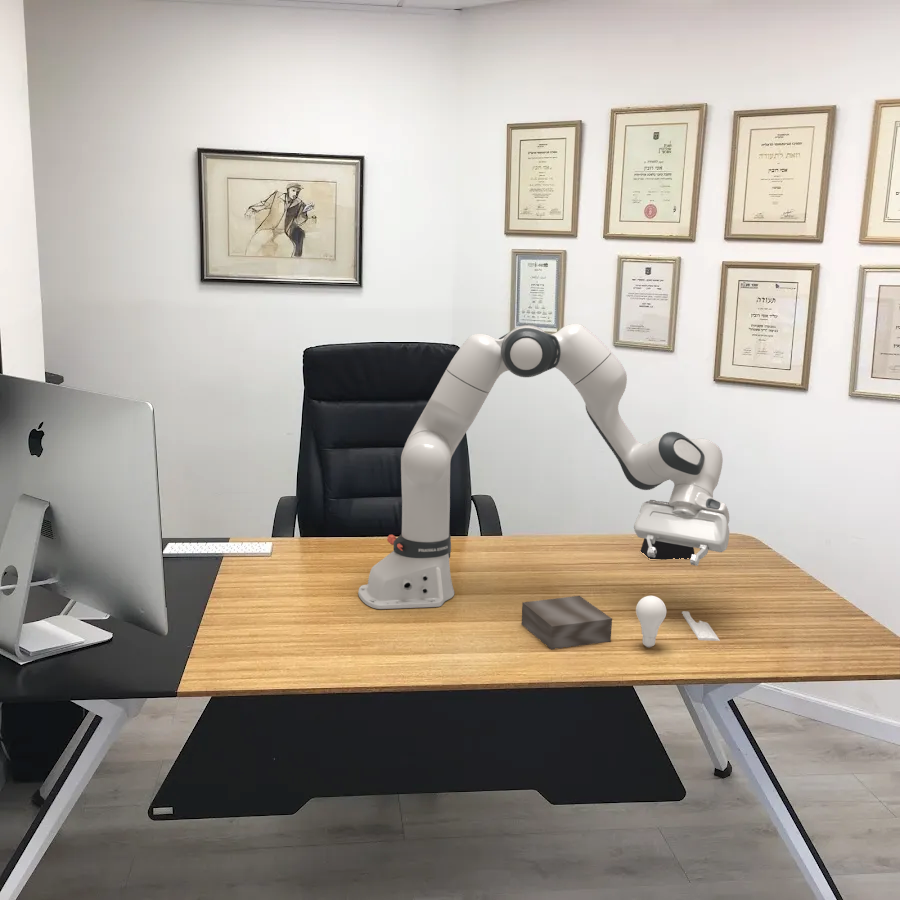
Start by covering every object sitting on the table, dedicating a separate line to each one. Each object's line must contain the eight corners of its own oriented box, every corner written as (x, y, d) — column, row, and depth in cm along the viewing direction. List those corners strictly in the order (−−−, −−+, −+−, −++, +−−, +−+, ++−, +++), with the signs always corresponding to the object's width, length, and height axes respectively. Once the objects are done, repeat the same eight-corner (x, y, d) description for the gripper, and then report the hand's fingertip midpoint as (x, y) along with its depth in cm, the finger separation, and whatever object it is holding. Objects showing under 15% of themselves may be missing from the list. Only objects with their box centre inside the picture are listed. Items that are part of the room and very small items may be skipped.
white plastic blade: (703, 615, 212) (704, 611, 211) (722, 642, 197) (722, 638, 197) (681, 614, 212) (681, 610, 211) (698, 641, 197) (698, 637, 197)
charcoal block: (550, 649, 190) (552, 626, 189) (521, 624, 203) (522, 602, 202) (610, 641, 195) (612, 618, 194) (578, 616, 208) (579, 595, 207)
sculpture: (639, 551, 256) (642, 498, 253) (685, 551, 258) (689, 498, 255) (648, 561, 248) (652, 506, 245) (696, 560, 250) (701, 506, 247)
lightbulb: (646, 655, 189) (650, 603, 186) (627, 643, 194) (630, 593, 192) (669, 650, 191) (673, 599, 189) (650, 639, 197) (654, 589, 194)
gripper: (641, 491, 209) (622, 543, 202) (733, 505, 198) (716, 561, 192) (646, 506, 213) (628, 558, 207) (736, 521, 203) (720, 576, 197)
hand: (671, 559), depth 200 cm, fingers open, 8 cm apart
